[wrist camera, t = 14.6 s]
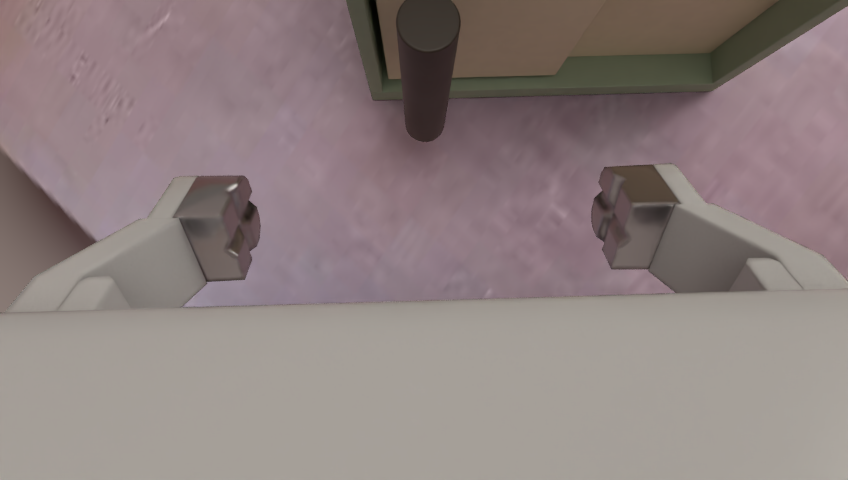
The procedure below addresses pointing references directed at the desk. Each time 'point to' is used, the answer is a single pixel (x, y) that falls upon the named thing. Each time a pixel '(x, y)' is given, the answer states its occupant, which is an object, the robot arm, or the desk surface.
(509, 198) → the desk surface
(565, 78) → the cabinet
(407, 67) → the door
